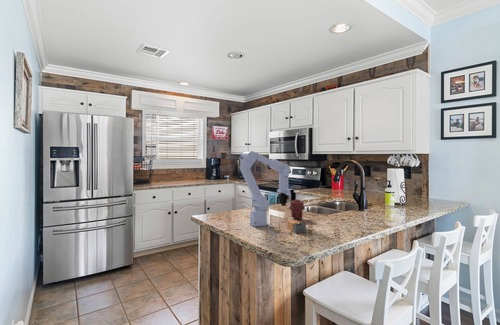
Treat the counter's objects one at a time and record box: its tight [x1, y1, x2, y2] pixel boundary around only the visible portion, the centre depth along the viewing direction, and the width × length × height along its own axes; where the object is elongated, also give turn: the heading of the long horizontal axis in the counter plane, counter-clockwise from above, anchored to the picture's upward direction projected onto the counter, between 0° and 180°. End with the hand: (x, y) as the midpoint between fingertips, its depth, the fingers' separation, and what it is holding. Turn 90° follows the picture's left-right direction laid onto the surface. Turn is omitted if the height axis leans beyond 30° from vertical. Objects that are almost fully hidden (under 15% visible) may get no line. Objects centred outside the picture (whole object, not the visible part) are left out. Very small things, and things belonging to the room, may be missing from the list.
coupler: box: [292, 221, 307, 234], centre depth 147 cm, size 6×10×5 cm, turn 19°
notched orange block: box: [286, 219, 303, 232], centre depth 149 cm, size 6×6×4 cm
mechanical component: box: [288, 199, 306, 221], centre depth 173 cm, size 12×10×10 cm
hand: (283, 205), depth 166 cm, fingers closed
